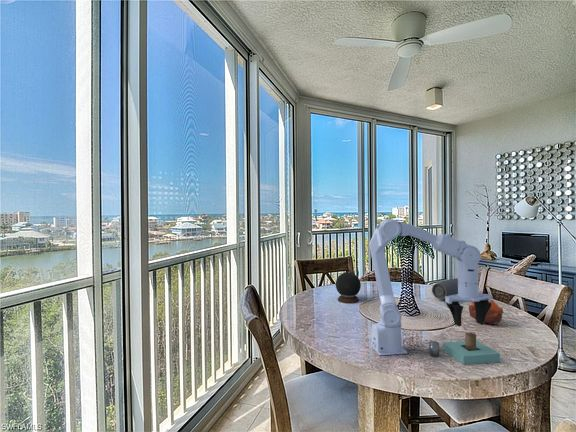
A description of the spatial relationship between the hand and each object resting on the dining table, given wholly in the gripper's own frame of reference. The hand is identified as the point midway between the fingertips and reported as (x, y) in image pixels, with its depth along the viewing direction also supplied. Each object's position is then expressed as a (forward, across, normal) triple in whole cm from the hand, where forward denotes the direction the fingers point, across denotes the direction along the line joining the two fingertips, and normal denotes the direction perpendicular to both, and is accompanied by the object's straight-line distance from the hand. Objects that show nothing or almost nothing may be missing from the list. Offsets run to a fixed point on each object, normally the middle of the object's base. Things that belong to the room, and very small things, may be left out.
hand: (468, 324), depth 97 cm
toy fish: (+10, +26, +25) cm, 37 cm away
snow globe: (+10, -19, +67) cm, 70 cm away
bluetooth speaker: (+10, +36, +61) cm, 72 cm away
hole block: (+10, 0, 0) cm, 10 cm away
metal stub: (+10, -11, +2) cm, 15 cm away
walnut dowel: (+10, 0, 0) cm, 10 cm away
